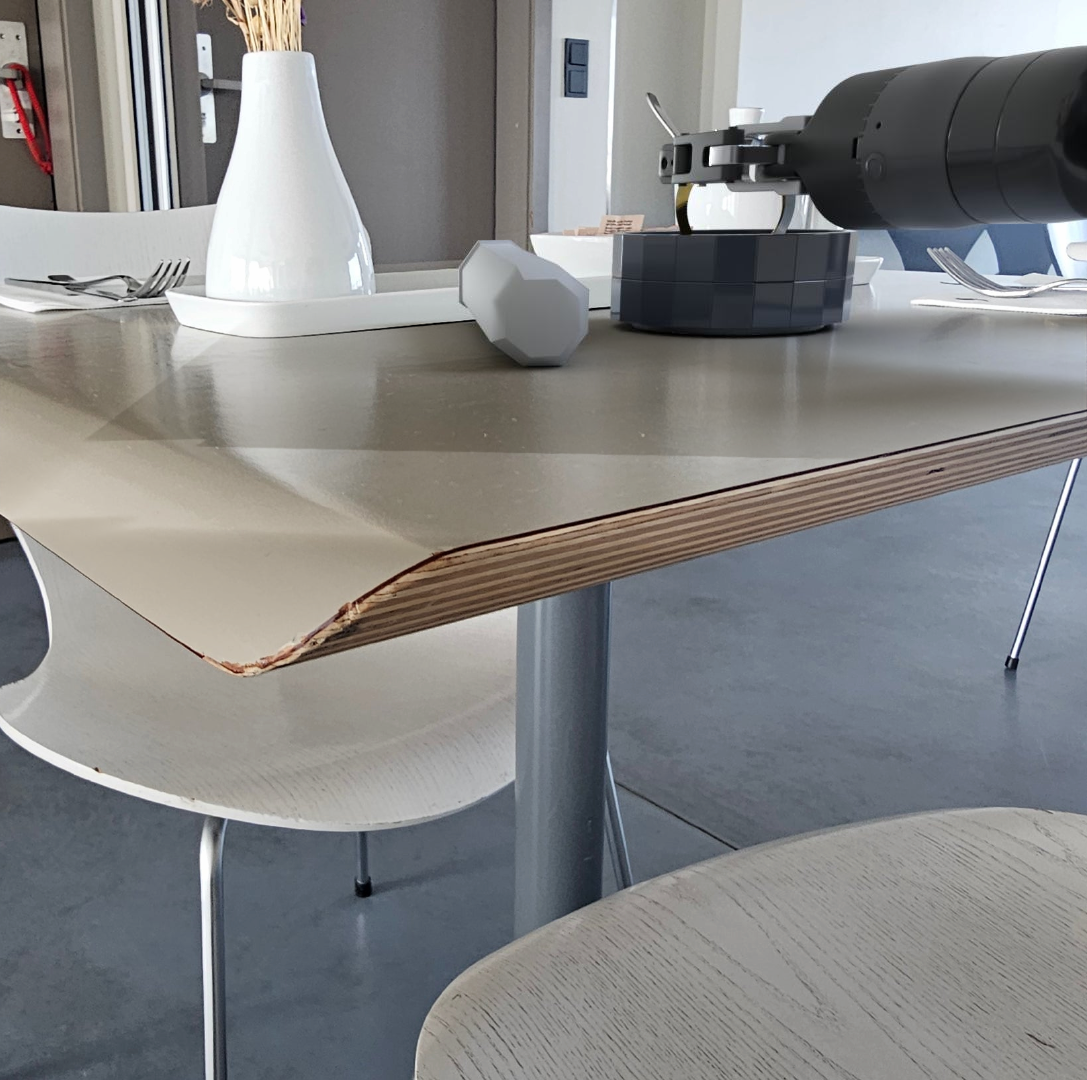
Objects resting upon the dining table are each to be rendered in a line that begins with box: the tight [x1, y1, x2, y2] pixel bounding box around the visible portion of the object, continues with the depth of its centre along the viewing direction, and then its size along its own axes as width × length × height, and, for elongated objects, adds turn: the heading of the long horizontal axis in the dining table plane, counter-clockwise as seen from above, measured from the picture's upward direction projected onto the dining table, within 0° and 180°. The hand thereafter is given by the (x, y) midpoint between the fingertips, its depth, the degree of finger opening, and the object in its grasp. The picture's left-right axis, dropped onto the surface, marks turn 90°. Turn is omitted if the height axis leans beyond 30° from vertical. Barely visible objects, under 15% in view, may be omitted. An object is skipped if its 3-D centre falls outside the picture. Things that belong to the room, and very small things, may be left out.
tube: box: [457, 239, 590, 367], centre depth 65 cm, size 5×5×25 cm
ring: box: [674, 128, 797, 235], centre depth 70 cm, size 7×3×8 cm, turn 81°
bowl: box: [609, 228, 859, 337], centre depth 71 cm, size 14×14×6 cm
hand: (713, 164), depth 71 cm, fingers closed on ring, 6 cm apart
